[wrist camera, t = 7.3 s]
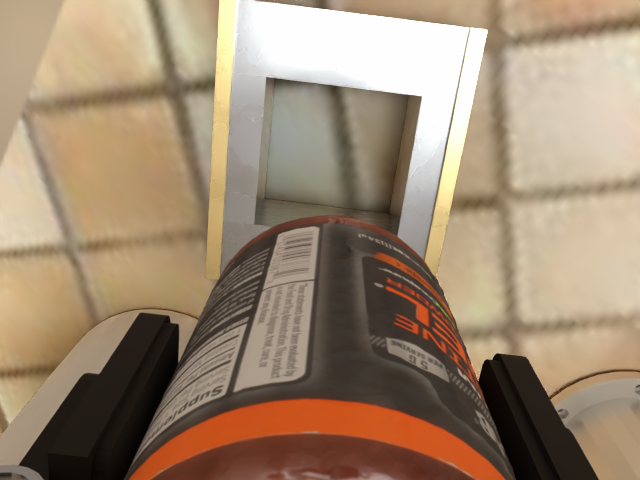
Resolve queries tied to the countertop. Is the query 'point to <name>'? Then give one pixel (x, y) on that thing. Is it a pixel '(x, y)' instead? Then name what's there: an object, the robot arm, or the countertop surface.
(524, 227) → the countertop surface
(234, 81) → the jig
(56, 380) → the utensil holder
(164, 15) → the countertop surface
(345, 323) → the supplement bottle
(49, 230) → the countertop surface
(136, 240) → the countertop surface
